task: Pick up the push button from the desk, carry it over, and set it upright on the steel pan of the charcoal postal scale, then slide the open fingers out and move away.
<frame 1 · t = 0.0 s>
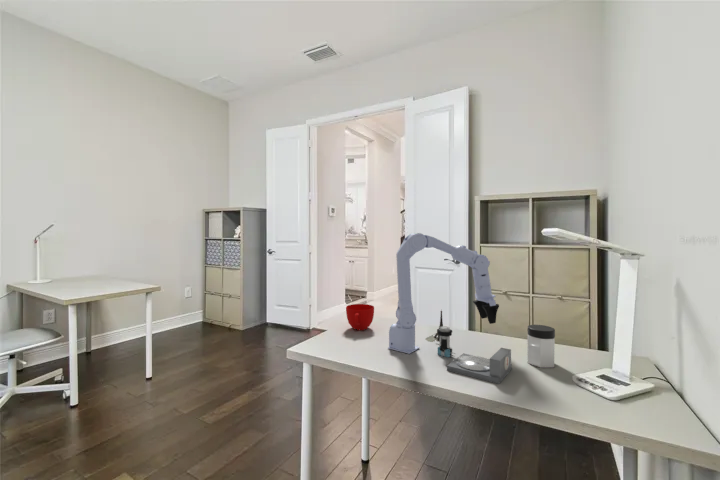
hand: (488, 320, 128), 11 cm above the table, tool pointing down, fingers open, 7 cm apart
eiffel tower figurine: (440, 340, 140), on the table
postal scale: (474, 368, 109), on the table
ceramic cup: (359, 330, 153), on the table
jar: (540, 363, 114), on the table
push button: (446, 356, 121), on the table
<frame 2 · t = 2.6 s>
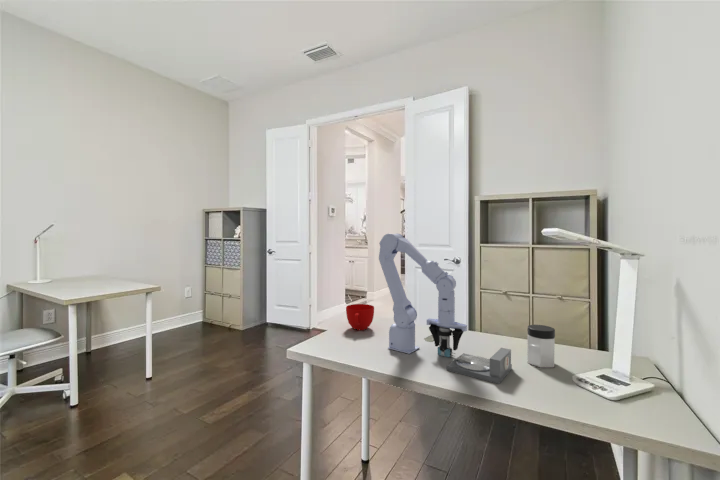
hand: (446, 347, 121), 3 cm above the table, tool pointing down, fingers open, 6 cm apart
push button: (446, 356, 121), on the table, touching gripper
everything else where it was.
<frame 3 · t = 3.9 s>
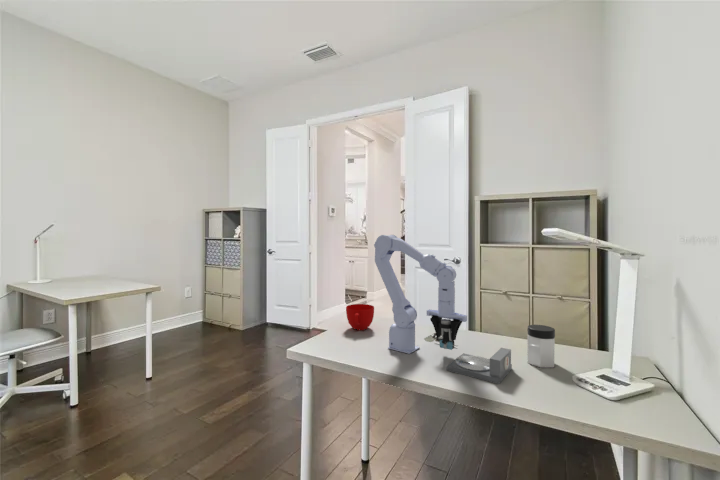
hand: (446, 338, 120), 6 cm above the table, tool pointing down, fingers closed on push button, 5 cm apart
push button: (448, 348, 120), point 3 cm above the table, touching gripper
everything else where it was.
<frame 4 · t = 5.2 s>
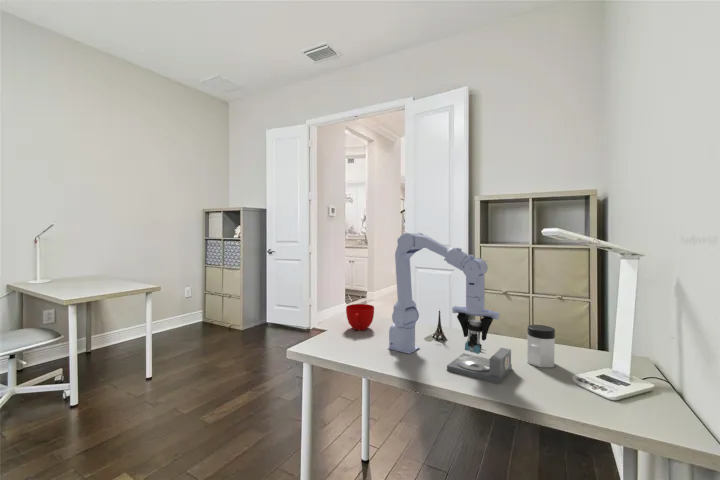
hand: (474, 337, 109), 10 cm above the table, tool pointing down, fingers closed on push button, 5 cm apart
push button: (474, 352, 110), point 5 cm above the table, touching gripper
everything else where it was.
when the fingers open (6 cm above the table, at t = 6.8 s): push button stays where it is, resting on postal scale.
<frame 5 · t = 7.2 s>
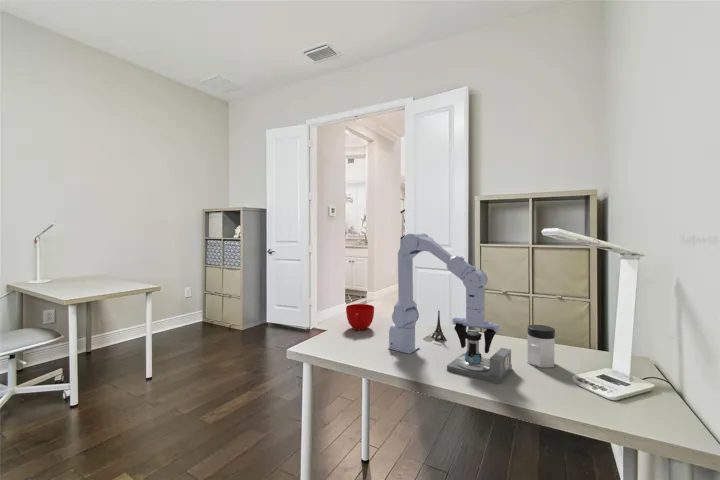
hand: (474, 349, 109), 6 cm above the table, tool pointing down, fingers open, 7 cm apart
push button: (474, 362, 110), point 2 cm above the table, touching postal scale
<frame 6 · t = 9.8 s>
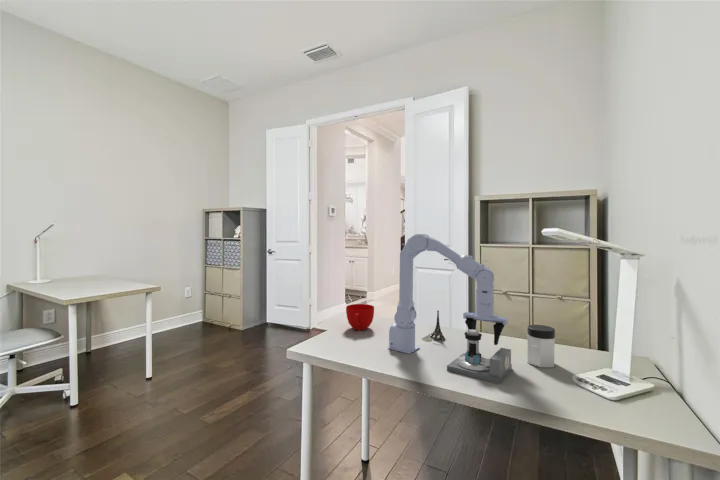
hand: (484, 342, 117), 6 cm above the table, tool pointing down, fingers open, 7 cm apart
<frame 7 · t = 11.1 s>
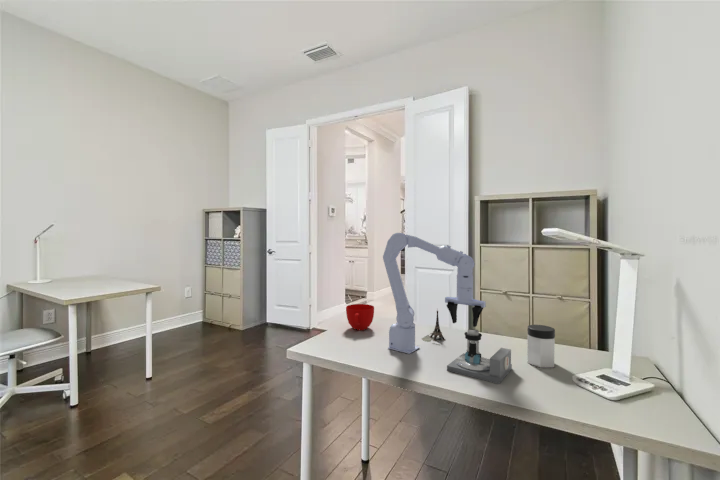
hand: (464, 324, 123), 10 cm above the table, tool pointing down, fingers open, 7 cm apart
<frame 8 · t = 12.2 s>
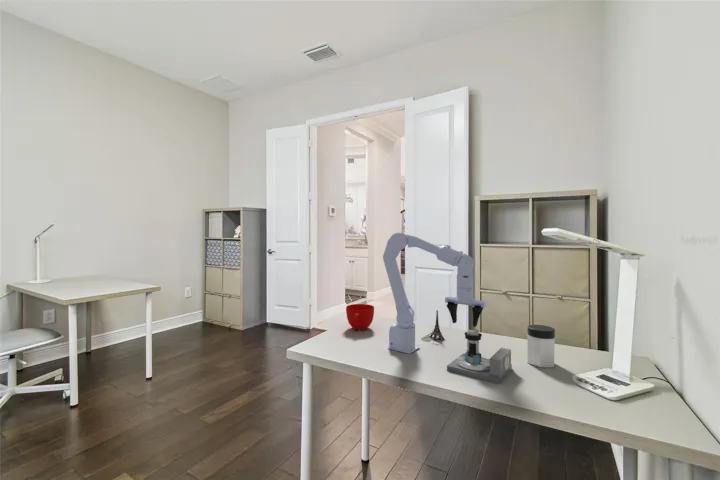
hand: (464, 324, 123), 10 cm above the table, tool pointing down, fingers open, 7 cm apart
at the end: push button inside the target area on the postal scale (0.4 cm from its centre), point 1.8 cm above the postal scale's base; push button tilted 0°; the gripper is holding nothing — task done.
